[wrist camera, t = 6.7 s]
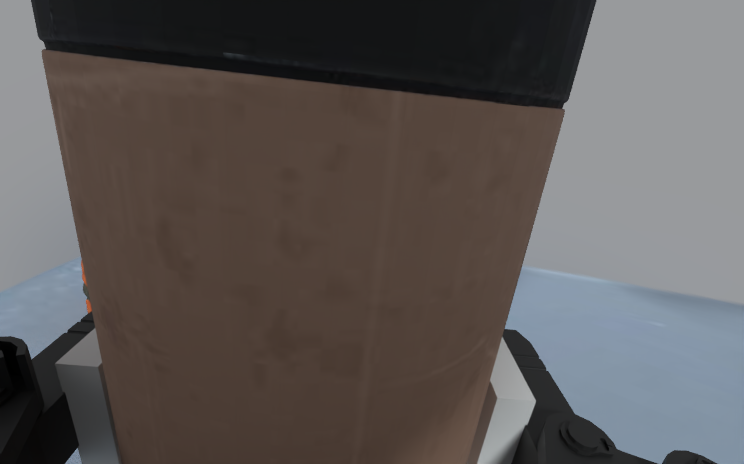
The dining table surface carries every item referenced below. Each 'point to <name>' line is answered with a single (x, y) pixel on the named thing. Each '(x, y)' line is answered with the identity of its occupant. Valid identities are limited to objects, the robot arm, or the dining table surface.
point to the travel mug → (304, 213)
